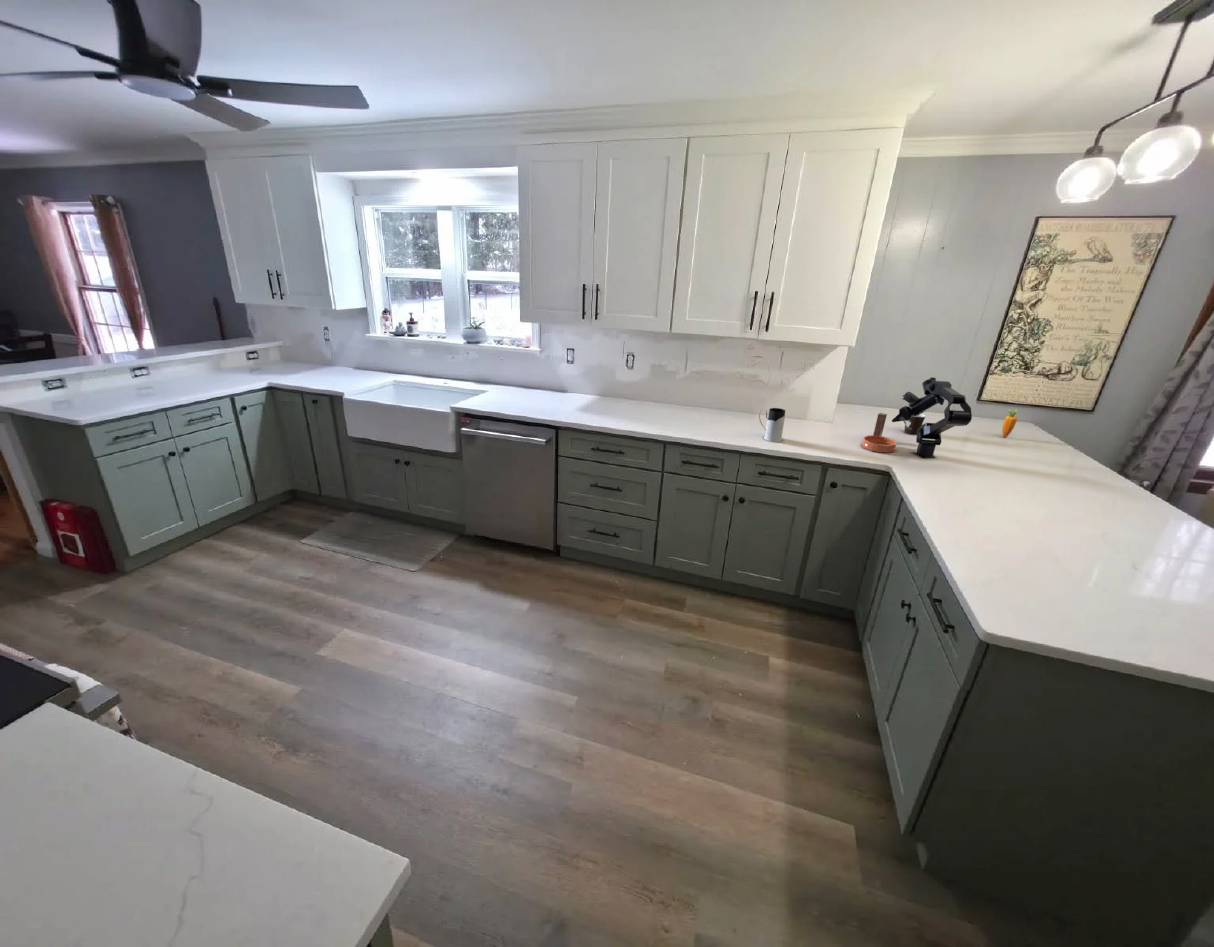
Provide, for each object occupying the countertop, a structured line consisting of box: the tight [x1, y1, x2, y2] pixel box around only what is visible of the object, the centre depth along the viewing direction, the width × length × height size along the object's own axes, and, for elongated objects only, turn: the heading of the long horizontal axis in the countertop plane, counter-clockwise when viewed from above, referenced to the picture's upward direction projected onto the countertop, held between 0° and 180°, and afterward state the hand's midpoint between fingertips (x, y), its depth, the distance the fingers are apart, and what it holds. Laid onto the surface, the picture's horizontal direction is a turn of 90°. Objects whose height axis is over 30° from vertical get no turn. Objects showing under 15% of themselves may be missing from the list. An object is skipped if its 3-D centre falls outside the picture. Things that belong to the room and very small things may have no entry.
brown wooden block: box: [872, 412, 888, 436], centre depth 246 cm, size 4×4×14 cm
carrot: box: [1001, 409, 1018, 439], centre depth 251 cm, size 5×5×15 cm
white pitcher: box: [758, 407, 786, 443], centre depth 247 cm, size 9×14×15 cm, turn 39°
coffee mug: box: [903, 413, 927, 436], centre depth 259 cm, size 12×9×10 cm
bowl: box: [861, 434, 898, 454], centre depth 237 cm, size 14×14×4 cm
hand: (895, 419), depth 240 cm, fingers open, 9 cm apart
